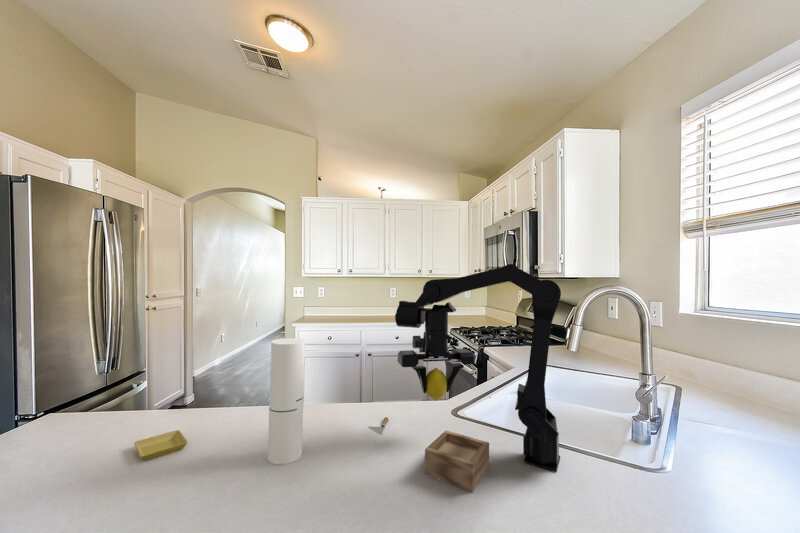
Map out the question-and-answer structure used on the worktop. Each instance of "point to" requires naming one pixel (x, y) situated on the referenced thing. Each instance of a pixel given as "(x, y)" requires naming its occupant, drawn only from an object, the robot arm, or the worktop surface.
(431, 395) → the lemon
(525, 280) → the robot arm
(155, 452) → the yellow tray
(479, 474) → the walnut box
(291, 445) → the cylindrical container
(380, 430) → the putty knife
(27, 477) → the worktop surface
